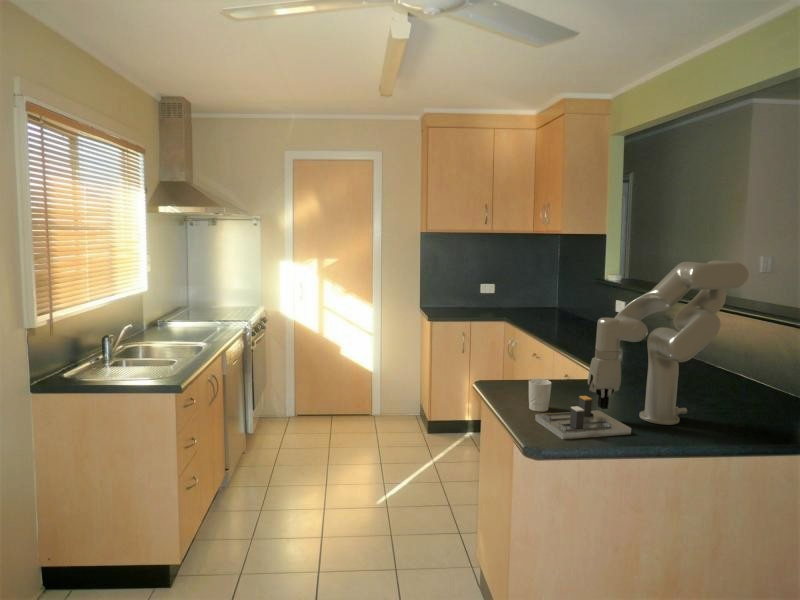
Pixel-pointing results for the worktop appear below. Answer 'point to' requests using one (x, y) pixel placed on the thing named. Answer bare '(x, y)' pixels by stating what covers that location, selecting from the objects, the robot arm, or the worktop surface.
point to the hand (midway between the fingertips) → (602, 407)
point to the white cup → (539, 394)
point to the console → (592, 425)
